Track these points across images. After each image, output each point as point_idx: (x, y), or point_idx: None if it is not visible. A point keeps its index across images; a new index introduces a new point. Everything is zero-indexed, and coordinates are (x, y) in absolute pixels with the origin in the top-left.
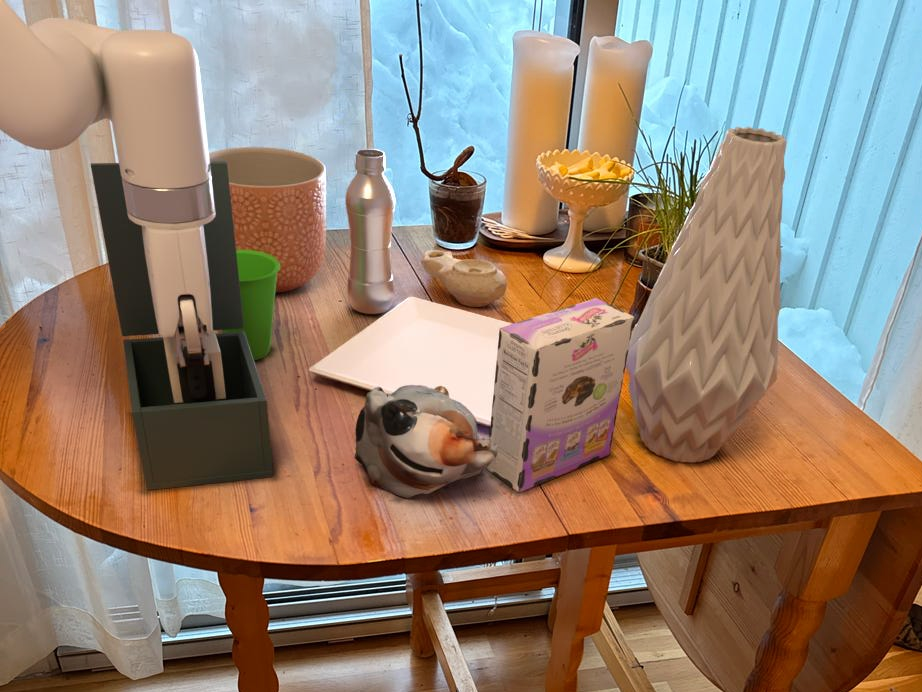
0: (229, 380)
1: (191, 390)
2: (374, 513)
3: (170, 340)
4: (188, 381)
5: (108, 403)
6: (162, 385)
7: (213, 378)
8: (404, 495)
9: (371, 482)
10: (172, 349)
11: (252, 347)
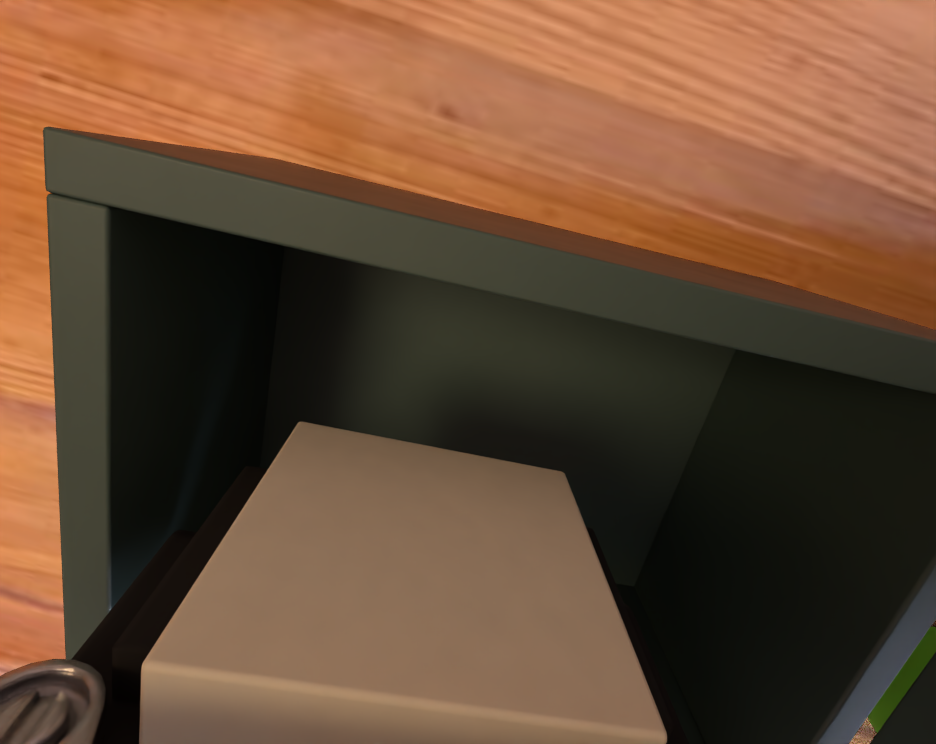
0: (677, 615)
1: (155, 558)
2: (7, 660)
3: None
4: (144, 594)
5: (903, 212)
6: (774, 414)
7: None
8: None
9: None
10: (280, 732)
11: (885, 703)
